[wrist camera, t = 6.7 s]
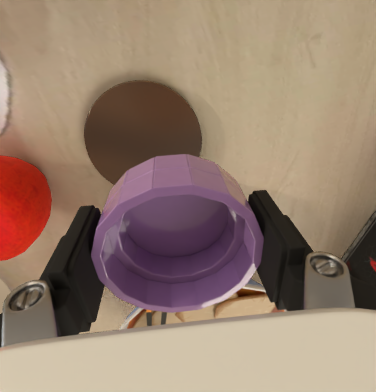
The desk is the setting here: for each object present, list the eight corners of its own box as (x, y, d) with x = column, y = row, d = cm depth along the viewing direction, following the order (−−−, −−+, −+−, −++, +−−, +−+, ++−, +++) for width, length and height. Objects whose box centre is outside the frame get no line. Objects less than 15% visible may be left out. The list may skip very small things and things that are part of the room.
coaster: (70, 84, 21) (68, 85, 21) (199, 76, 22) (200, 77, 21) (100, 195, 27) (99, 198, 27) (202, 186, 28) (202, 189, 27)
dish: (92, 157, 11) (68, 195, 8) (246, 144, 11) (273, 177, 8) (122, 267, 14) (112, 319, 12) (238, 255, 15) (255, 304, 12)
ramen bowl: (254, 342, 45) (271, 396, 38) (123, 345, 42) (115, 405, 35) (302, 232, 32) (340, 284, 25) (119, 226, 29) (106, 282, 22)
